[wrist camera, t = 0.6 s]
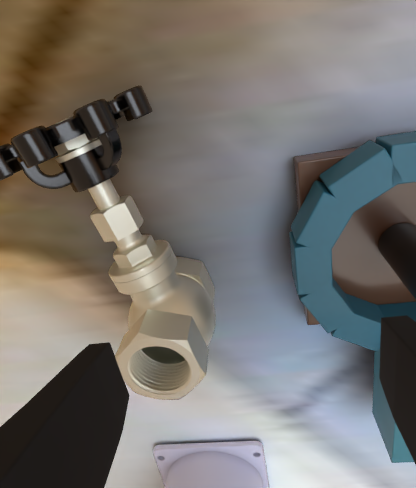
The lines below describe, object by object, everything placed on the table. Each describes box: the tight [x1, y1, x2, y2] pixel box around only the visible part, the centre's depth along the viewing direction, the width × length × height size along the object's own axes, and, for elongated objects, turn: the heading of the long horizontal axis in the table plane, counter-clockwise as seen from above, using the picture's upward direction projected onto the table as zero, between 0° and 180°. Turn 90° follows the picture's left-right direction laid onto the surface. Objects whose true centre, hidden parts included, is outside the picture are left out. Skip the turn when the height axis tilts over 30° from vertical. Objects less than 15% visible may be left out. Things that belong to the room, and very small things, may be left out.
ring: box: [289, 131, 416, 463], centre depth 17 cm, size 17×10×3 cm, turn 10°
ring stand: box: [294, 147, 416, 325], centre depth 16 cm, size 9×9×6 cm
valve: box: [0, 86, 216, 400], centre depth 16 cm, size 7×7×12 cm
